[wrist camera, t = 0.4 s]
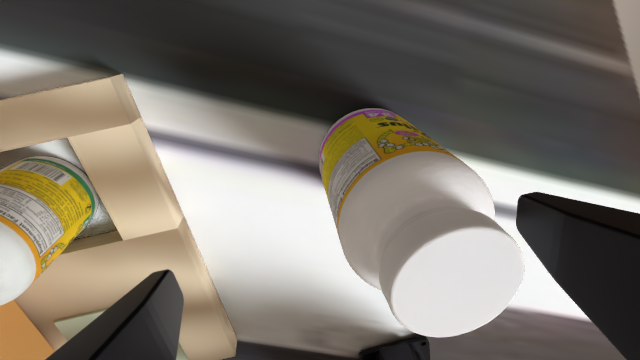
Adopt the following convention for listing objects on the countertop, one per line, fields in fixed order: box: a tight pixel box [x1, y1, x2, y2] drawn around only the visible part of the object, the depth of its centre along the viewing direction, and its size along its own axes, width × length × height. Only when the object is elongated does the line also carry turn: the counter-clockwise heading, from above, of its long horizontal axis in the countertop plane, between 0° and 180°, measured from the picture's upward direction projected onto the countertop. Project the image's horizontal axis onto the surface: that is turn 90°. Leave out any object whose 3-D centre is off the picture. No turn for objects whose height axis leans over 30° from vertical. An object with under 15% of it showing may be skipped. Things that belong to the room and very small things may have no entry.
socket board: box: [0, 74, 237, 360], centre depth 23 cm, size 22×14×2 cm, turn 11°
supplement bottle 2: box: [319, 108, 525, 337], centre depth 17 cm, size 7×7×13 cm
